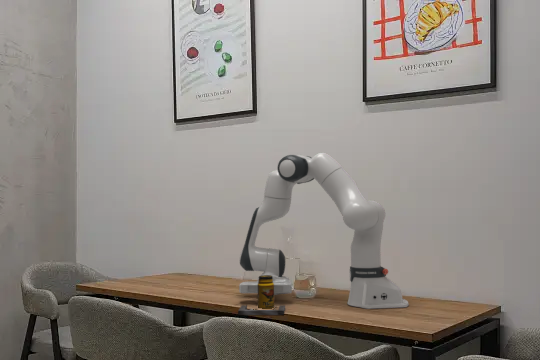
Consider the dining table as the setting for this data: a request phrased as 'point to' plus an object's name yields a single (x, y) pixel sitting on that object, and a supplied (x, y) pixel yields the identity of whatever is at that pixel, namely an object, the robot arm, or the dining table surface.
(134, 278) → the dining table surface
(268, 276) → the condiment
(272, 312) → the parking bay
